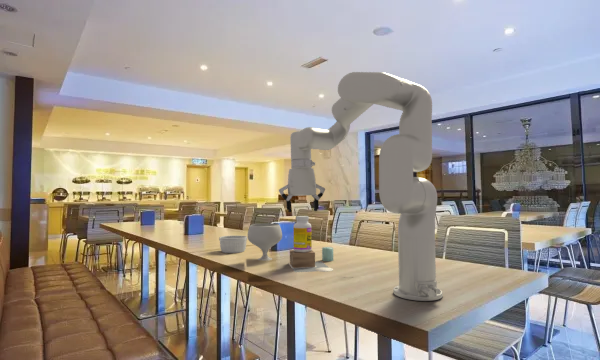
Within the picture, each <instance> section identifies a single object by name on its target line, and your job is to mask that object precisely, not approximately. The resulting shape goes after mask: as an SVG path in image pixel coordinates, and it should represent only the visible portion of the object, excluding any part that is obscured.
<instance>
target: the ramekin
mask: <svg viewBox="0 0 600 360" xmlns="http://www.w3.org/2000/svg"><path fill="white" fill-rule="evenodd" d="M218 240H219V246H220V247H219V248H220V250H221V252H222V253H226V254H238V253H243V252H245V250H246V248H247V242H248V241H247V240H248V235H223V236H220V237H219V238H218Z"/></svg>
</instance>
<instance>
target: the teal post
mask: <svg viewBox="0 0 600 360" xmlns="http://www.w3.org/2000/svg"><path fill="white" fill-rule="evenodd" d="M321 258H322V262H333V261H334V247H331V246H324V247H323V246H322V248H321Z"/></svg>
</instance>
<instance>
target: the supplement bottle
mask: <svg viewBox="0 0 600 360" xmlns="http://www.w3.org/2000/svg"><path fill="white" fill-rule="evenodd" d="M295 219H296V223H294V224H293V250H294V251H295V252H310V251H311V250H312V251H313V249H312V240H313V239H312V237H313V236H312V235H313V234H312V224H311V223H310V222H309V219H310V216H308V215H296V216H295Z"/></svg>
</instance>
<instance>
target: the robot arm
mask: <svg viewBox="0 0 600 360" xmlns="http://www.w3.org/2000/svg"><path fill="white" fill-rule="evenodd" d="M337 93H338V96H339V97H340V98H339V99H337V101H335V102H334V103H333V104H332V106H331V114H332V115H333V117H334V119H335V121H336V122H335V123H334V124H333V125H332V126H330V127H329V128H328V129H326V128H320V127H311V126H308V127H305V128H303V129H301V130H300V131H299V130H298V131H294V132H291V134H290V137H289V138H290V161H291V162H290V165H291V166H290V167H291V168H289V169H288V175H287V176H288V177H287V184H286V185H284V186H283V187H280V188H279V189H278V192H279V194H280V196H281V197H282V198H283V199H284V201H286V211H288V213H292V201H291V199H292V197H296V196H297V197H298V196H299V197H301V196H302V197H303V196H311V197H312V198H313V211H314V212H318V210H319V209H320V208H319V205H320V204H319V201H320V199H321V198H322V197H323V195H324V193H325V191H326V188H325V187H323V186H322V185H319V184H318V183H316V177H315V176H316V175H315V170H314V168H312V167H313V166H316V162H315V161H313V160H312V150H320V151H329V150H332V149H334V148H336V147H337V146H338V145H339V144H341V143H342V142H343V141H344V140H345V139H346V138H347V136H348V134H349V131H350V128H351V125H352V123H353V122H354V121H356V120H357V119H359V117H360V116H361V115H363V114H364V113H365V112H366V111H367V110H369V109H370V108H371V107H372V106H373V105H378V106H381V107H386V108H389V109H393V110H394V109H395V110H399V111H402V112H401V116H400V118H399V124H398V125H399V126H398V129H399V131H398V133H397V134H394V135H393V134H392V135H391V136H388V138H386V140H385V141H384V142H383V143H382V145H381V148H380V150H379V154H378V155H379V157H378V160H379V161H378V191H379V192H378V194H379V200H380V203H381V206H383V208H384V209H385V210H386V211H387V212H389V213H392V214H396V215H398V214H399V215H400V216H399V218H398V225H397V226H398V227H397V251H398V254H397V255H398V258H397V259H398V285H396V286H394V287H393V288H392V290H393V291H392V293H393V294H394V295H395V296H396V297H399V298H401V299H406V300H410V301H417V302H431V301H437V300H440V299H442V298H443V295H444V294H443V290H441V289H440V288H438V286H437V273H436V271H437V270H436V269H437V268H436V266H437V265H436V213H437V205H438V193H437V189H436V187H435V186H434V184H433V183H432V181H430V180H429V179H426V178H424V177H419V176H414V173H418V172H419V173H421V172H422V171H426V170H427V169H428V168H429V167H430V166H431V164H432V161H433V126H432V125H433V123H432V121H433V119H432V118H433V99H432V96H431V94H430V91H428V89H427V88H425V87H424V86H422V85H421V84H418V83H415V82H413V81H410V80H408V79H405V78H401V77H399V76H396V75H393V74H391V73H388V72H387V73H386V72H383V71H381V72H379V71H376V72H375V71H373V72H371V71H368V72H367V71H366V72H365V71H352V72H349V73H346V75H344V76H342V78H341V79H340V81H339V83H338V86H337ZM286 190H287V194H288V195H286V194H285V193H284V191H286ZM317 190H319V192H318V194H317Z"/></svg>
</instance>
